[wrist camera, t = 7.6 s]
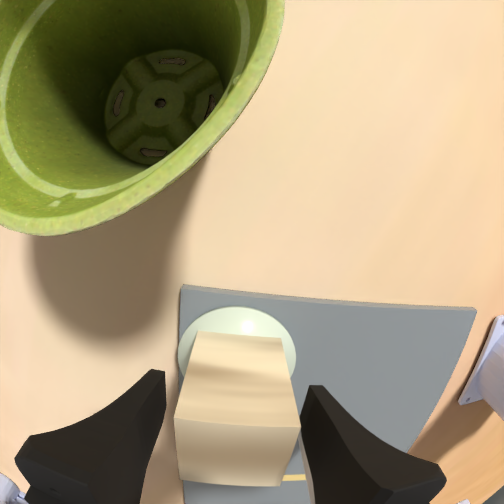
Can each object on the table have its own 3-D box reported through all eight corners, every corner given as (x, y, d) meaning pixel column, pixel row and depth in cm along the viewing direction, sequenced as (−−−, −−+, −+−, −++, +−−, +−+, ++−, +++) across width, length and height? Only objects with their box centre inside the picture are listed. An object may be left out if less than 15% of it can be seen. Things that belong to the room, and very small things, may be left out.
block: (269, 398, 15) (279, 486, 9) (196, 392, 15) (179, 479, 9) (281, 338, 14) (301, 427, 8) (197, 330, 14) (173, 417, 8)
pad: (305, 311, 14) (306, 315, 14) (283, 403, 15) (284, 407, 15) (180, 298, 14) (178, 301, 13) (179, 393, 15) (177, 397, 15)
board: (472, 307, 15) (547, 360, 8) (359, 507, 21) (375, 558, 13) (183, 284, 14) (132, 378, 7) (186, 510, 20) (179, 569, 12)
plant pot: (68, 195, 13) (-63, 220, 5) (99, 31, 11) (13, -45, 2) (246, 213, 14) (249, 265, 5) (272, 30, 11) (299, -94, 3)
